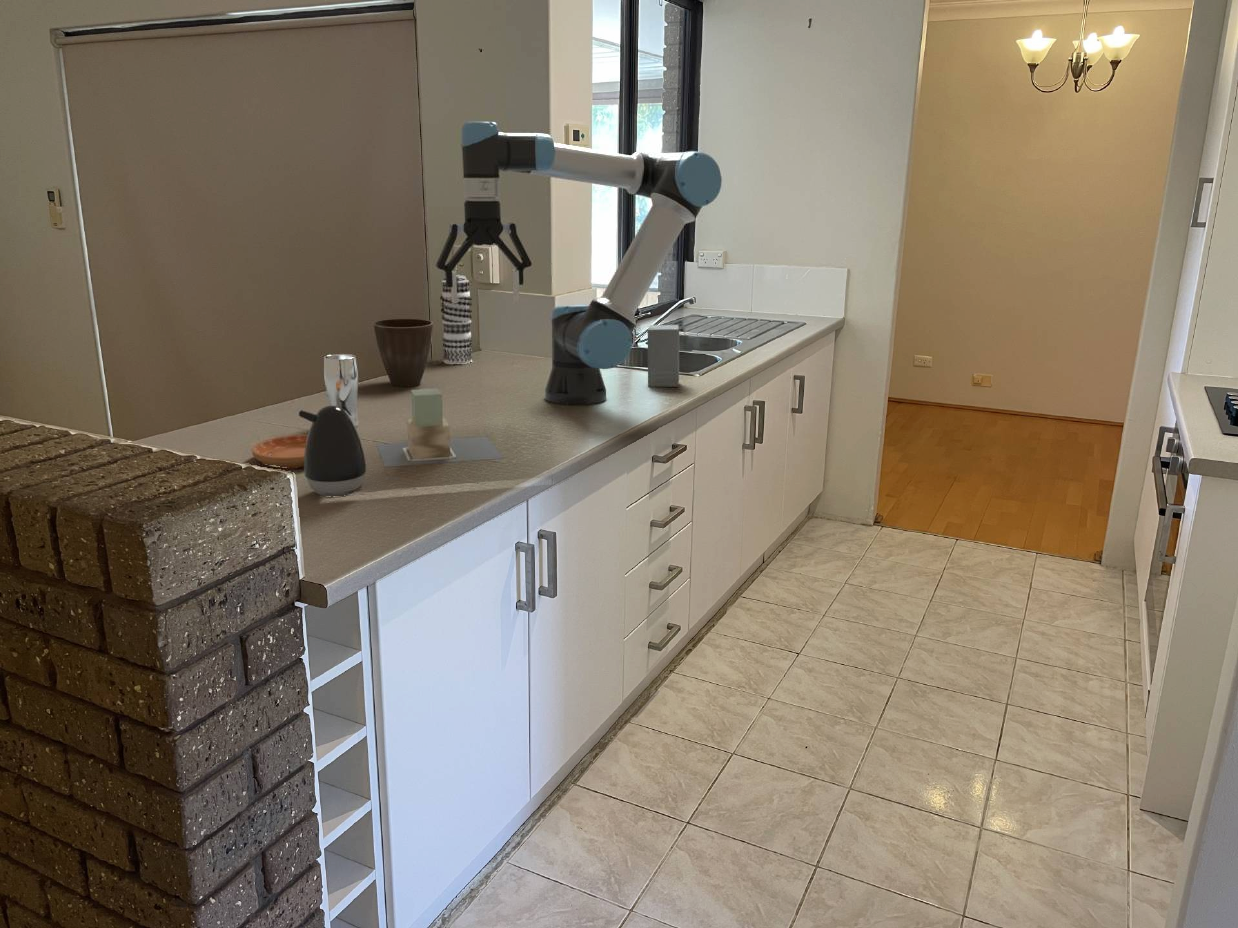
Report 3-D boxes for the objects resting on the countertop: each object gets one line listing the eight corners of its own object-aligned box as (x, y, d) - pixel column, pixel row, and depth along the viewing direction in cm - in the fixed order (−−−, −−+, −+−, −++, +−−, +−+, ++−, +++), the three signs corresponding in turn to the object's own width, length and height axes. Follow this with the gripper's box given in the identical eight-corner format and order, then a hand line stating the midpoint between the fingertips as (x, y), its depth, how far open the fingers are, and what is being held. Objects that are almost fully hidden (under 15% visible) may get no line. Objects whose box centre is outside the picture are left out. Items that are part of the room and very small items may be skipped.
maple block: (444, 447, 186) (443, 417, 184) (450, 456, 180) (449, 426, 178) (408, 449, 184) (407, 419, 182) (412, 459, 178) (411, 428, 176)
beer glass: (367, 423, 208) (363, 355, 204) (348, 430, 202) (344, 360, 197) (340, 419, 210) (335, 352, 206) (321, 427, 204) (316, 358, 200)
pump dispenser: (311, 483, 167) (305, 399, 162) (372, 483, 167) (367, 399, 163) (297, 502, 157) (290, 413, 152) (362, 501, 158) (356, 413, 153)
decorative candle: (455, 366, 273) (453, 278, 265) (435, 361, 278) (432, 275, 271) (480, 362, 279) (478, 276, 272) (460, 358, 285) (457, 273, 278)
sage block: (438, 419, 183) (437, 388, 181) (442, 425, 179) (441, 394, 177) (412, 420, 182) (411, 390, 180) (416, 427, 177) (414, 395, 175)
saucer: (255, 475, 171) (254, 459, 170) (250, 452, 185) (249, 437, 184) (346, 467, 177) (345, 451, 176) (335, 445, 191) (334, 431, 190)
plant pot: (444, 386, 246) (442, 324, 242) (389, 392, 238) (386, 328, 234) (421, 376, 258) (419, 317, 253) (368, 381, 250) (364, 320, 245)
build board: (487, 442, 194) (487, 436, 194) (503, 464, 180) (503, 457, 180) (377, 450, 188) (376, 443, 187) (385, 473, 173) (384, 466, 173)
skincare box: (678, 383, 256) (681, 324, 251) (677, 388, 249) (680, 328, 244) (647, 381, 256) (649, 323, 252) (645, 387, 250) (647, 327, 245)
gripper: (425, 200, 192) (430, 306, 198) (544, 200, 200) (545, 301, 206) (419, 199, 199) (425, 301, 205) (534, 199, 207) (536, 297, 213)
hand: (485, 301), depth 206 cm, fingers open, 13 cm apart
